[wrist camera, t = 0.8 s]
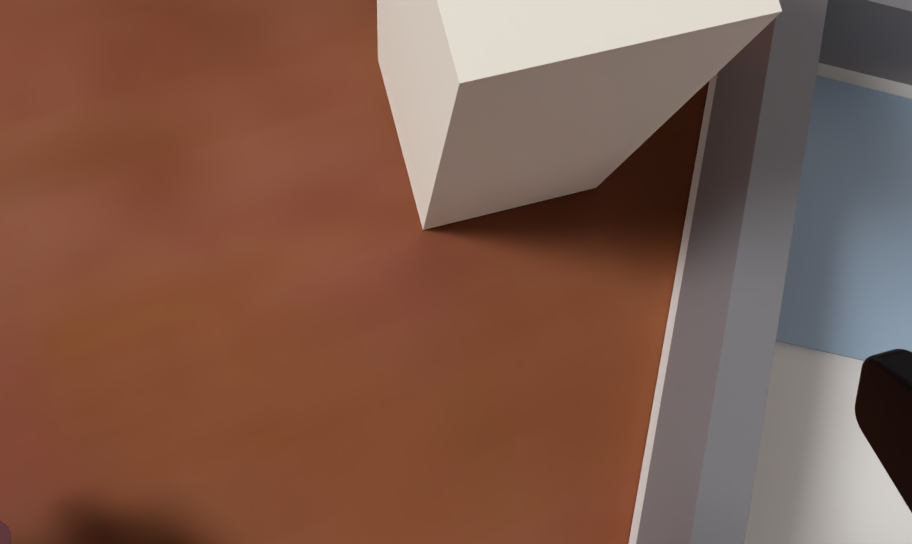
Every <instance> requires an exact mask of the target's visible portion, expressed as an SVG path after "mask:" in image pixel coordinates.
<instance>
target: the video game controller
mask: <svg viewBox="0 0 912 544" xmlns="http://www.w3.org/2000/svg"><path fill="white" fill-rule="evenodd" d="M0 544H11V531H10V529H9V527H8V526H7V525H5V524H4V523H3V522H1V521H0Z"/></svg>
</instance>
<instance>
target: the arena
mask: <svg viewBox="0 0 912 544" xmlns="http://www.w3.org/2000/svg"><path fill="white" fill-rule="evenodd" d="M779 3H780V6H781V9H782V12H781V13H780V14H779V15H778V16H777V17H776V18H775V19H774V20H773V21H771V22H770V23H769V24H768V25H767V26H766V27H765V28H764V29H763V30H762V31H761V32H760V33H759V34H758V35H757V36H756V37H755V38H754V39H752V40H751V41H750V42H749V43H748V44H747V45H746V46H745V47H744V48H743V49H742V50H741V51H740V52H739V53H738V54H737V55H736V56H735V57H734V58H732V59H731V60H730V61H729V62H728V63H727V64H726V65H725V66H724V67H723V68H722V69H721V70H720V71H719V72H718V73H717V74H716V75H715V76H713V77H712V78H711V79H710V80H709V86H708V92H707V98H706V103H705V109H704V115H703V121H702V126H701V132H700V138H699V143H698V149H697V155H696V161H695V166H694V172H693V178H692V183H691V189H690V195H689V201H688V206H687V212H686V218H685V224H684V229H683V235H682V241H681V246H680V252H679V258H678V264H677V269H676V275H675V281H674V287H673V292H672V298H671V304H670V309H669V315H668V321H667V327H666V332H665V338H664V344H663V349H662V355H661V361H660V367H659V372H658V378H657V384H656V390H655V395H654V401H653V407H652V412H651V418H650V424H649V430H648V435H647V441H646V447H645V453H644V458H643V464H642V470H641V475H640V481H639V487H638V493H637V498H636V504H635V510H634V515H633V521H632V527H631V533H630V538H629V544H912V513H911V511H910V510H909V508H908V506H907V505H906V503H905V501H904V500H903V498H902V496H901V495H900V493H899V492H898V490H897V488H896V487H895V485H894V483H893V482H892V480H891V478H890V477H889V475H888V474H887V472H886V470H885V469H884V467H883V465H882V464H881V462H880V460H879V459H878V457H877V455H876V454H875V452H874V451H873V449H872V447H871V446H870V444H869V442H868V441H867V439H866V437H865V436H864V434H863V433H862V431H861V429H860V427H859V425H858V423H857V420H856V416H855V401H856V395H857V390H858V384H859V379H860V373H861V368H862V364H863V362H864V361H865V360H866V358H868V357H869V356H872V355H875V354H879V353H882V352H886V351H889V350H893V349H905V350H908V351H911V352H912V0H779Z"/></svg>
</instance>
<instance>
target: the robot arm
mask: <svg viewBox="0 0 912 544" xmlns="http://www.w3.org/2000/svg"><path fill="white" fill-rule="evenodd" d="M855 416H856V420H857V423H858V425H859V427H860V429H861V431H862V433H863V434H864V436H865V437H866V439H867V441H868V442H869V444H870V446H871V447H872V449H873V451H874V452H875V454H876V455H877V457H878V459H879V460H880V462H881V464H882V465H883V467H884V469H885V470H886V472H887V474H888V475H889V477H890V478H891V480H892V482H893V483H894V485H895V487H896V488H897V490H898V492H899V493H900V495H901V496H902V498H903V500H904V501H905V503H906V505H907V506H908V508H909V510H910V511H911V513H912V352H911V351H908V350H905V349H893V350H889V351H886V352H882V353H879V354H875V355H872V356H869V357H868V358H866V360H865V361H864V362H863V364H862V368H861V373H860V379H859V384H858V390H857V395H856V401H855Z"/></svg>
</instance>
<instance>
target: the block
mask: <svg viewBox="0 0 912 544" xmlns="http://www.w3.org/2000/svg"><path fill="white" fill-rule="evenodd" d="M781 12H782V9H781V6H780V3H779V0H377V27H378V61H379V65H380V69H381V72H382V76H383V80H384V84H385V88H386V91H387V95H388V99H389V103H390V107H391V110H392V114H393V118H394V122H395V126H396V129H397V133H398V137H399V141H400V145H401V148H402V152H403V156H404V160H405V164H406V167H407V171H408V175H409V179H410V183H411V187H412V190H413V194H414V198H415V202H416V206H417V209H418V213H419V217H420V221H421V225H422V228H423V230H425V229H429V228H434V227H438V226H442V225H446V224H450V223H454V222H458V221H462V220H466V219H470V218H475V217H479V216H483V215H487V214H491V213H495V212H499V211H503V210H507V209H511V208H516V207H520V206H524V205H528V204H532V203H536V202H540V201H544V200H548V199H552V198H556V197H561V196H565V195H569V194H573V193H577V192H581V191H585V190H589V189H593V188H596V187H598V186H599V185H600V184H601V183H602V182H603V181H604V180H605V179H606V178H607V177H608V176H609V175H610V174H611V173H612V172H613V171H614V170H615V169H616V168H618V167H619V166H620V165H621V164H622V163H623V162H624V161H625V160H626V159H627V158H628V157H629V156H630V155H631V154H632V153H633V152H634V151H635V150H637V149H638V148H639V147H640V146H641V145H642V144H643V143H644V142H645V141H646V140H647V139H648V138H649V137H650V136H651V135H652V134H653V133H654V132H656V131H657V130H658V129H659V128H660V127H661V126H662V125H663V124H664V123H665V122H666V121H667V120H668V119H669V118H670V117H671V116H672V115H673V114H674V113H676V112H677V111H678V110H679V109H680V108H681V107H682V106H683V105H684V104H685V103H686V102H687V101H688V100H689V99H690V98H691V97H692V96H693V95H695V94H696V93H697V92H698V91H699V90H700V89H701V88H702V87H703V86H704V85H705V84H706V83H707V82H708V81H709V80H710V79H711V78H712V77H713V76H715V75H716V74H717V73H718V72H719V71H720V70H721V69H722V68H723V67H724V66H725V65H726V64H727V63H728V62H729V61H730V60H731V59H732V58H734V57H735V56H736V55H737V54H738V53H739V52H740V51H741V50H742V49H743V48H744V47H745V46H746V45H747V44H748V43H749V42H750V41H751V40H752V39H754V38H755V37H756V36H757V35H758V34H759V33H760V32H761V31H762V30H763V29H764V28H765V27H766V26H767V25H768V24H769V23H770V22H771V21H773V20H774V19H775V18H776V17H777V16H778V15H779V14H780V13H781Z"/></svg>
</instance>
